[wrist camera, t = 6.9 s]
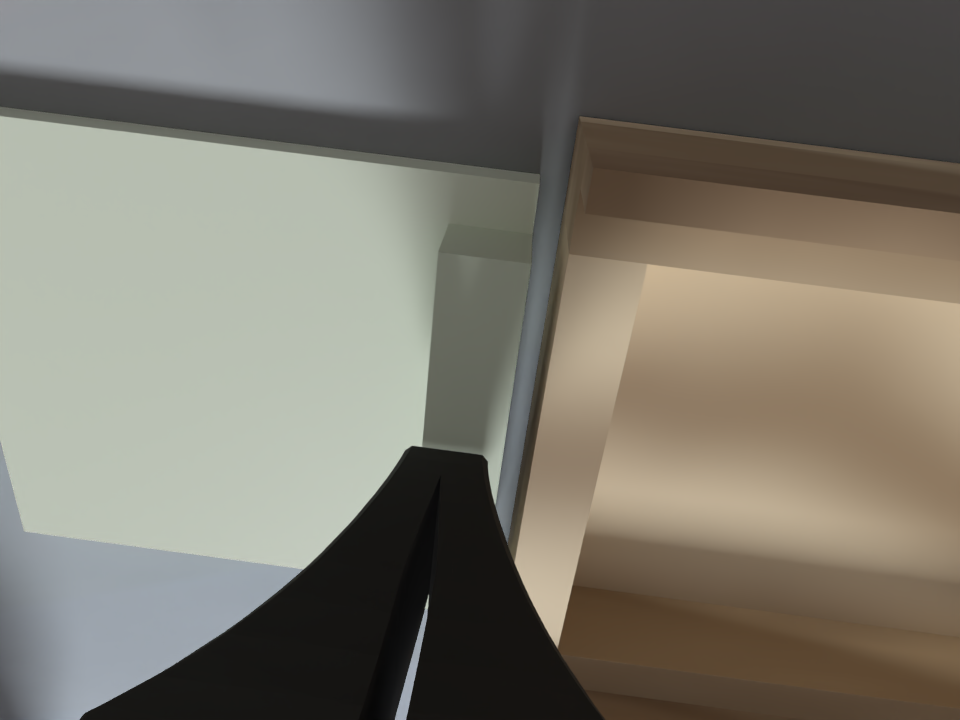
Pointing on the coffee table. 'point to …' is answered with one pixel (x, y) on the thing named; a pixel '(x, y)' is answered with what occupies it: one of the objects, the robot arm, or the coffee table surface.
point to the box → (749, 431)
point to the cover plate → (243, 330)
